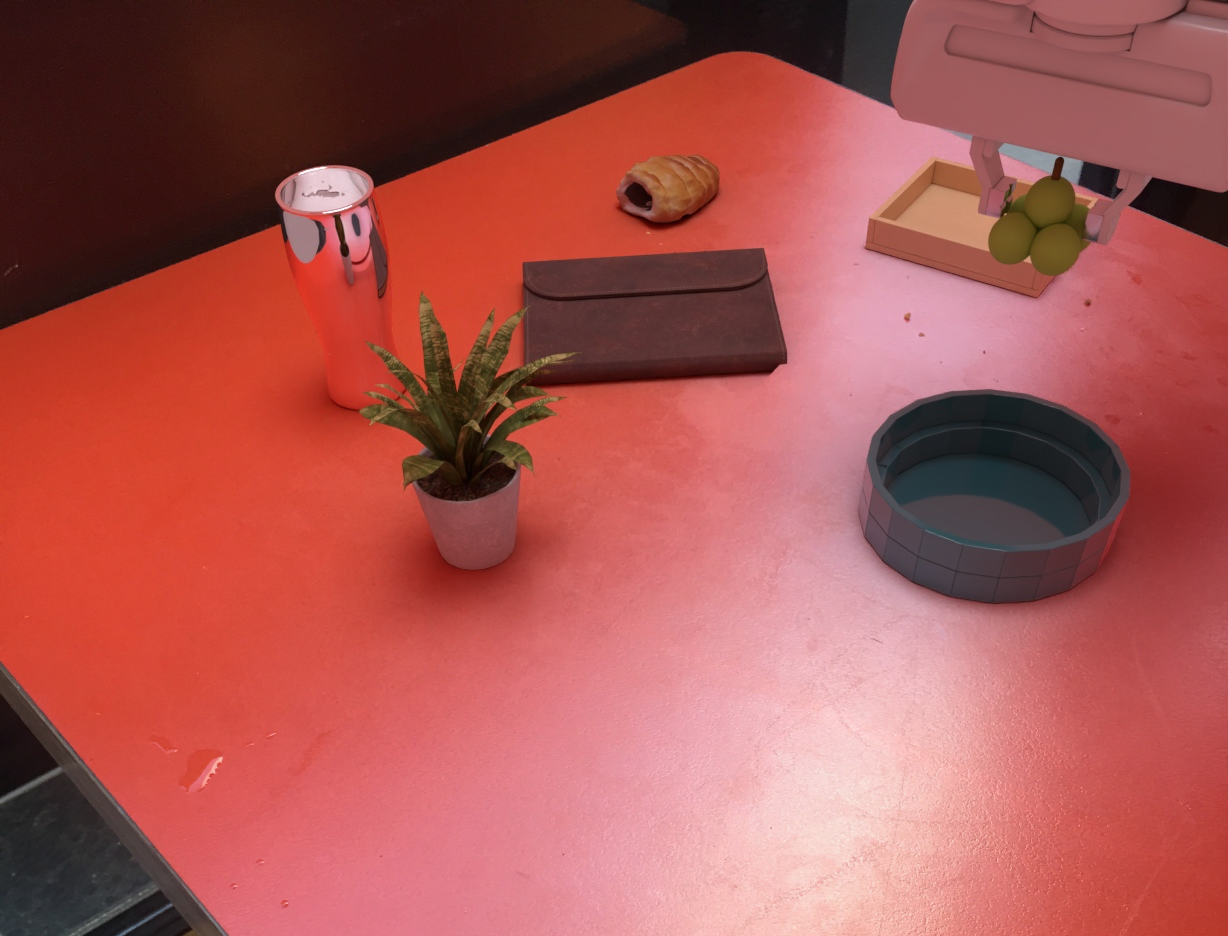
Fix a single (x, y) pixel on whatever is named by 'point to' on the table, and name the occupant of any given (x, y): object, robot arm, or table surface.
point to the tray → (951, 227)
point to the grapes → (1042, 226)
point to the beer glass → (342, 276)
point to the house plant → (466, 438)
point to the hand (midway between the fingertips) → (1043, 225)
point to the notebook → (652, 316)
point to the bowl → (992, 495)
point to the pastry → (668, 187)
